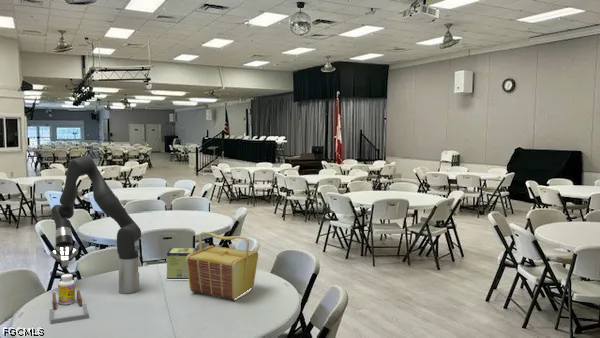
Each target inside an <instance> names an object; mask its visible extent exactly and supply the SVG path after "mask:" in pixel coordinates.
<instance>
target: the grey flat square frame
mask: <svg viewBox="0 0 600 338" xmlns="http://www.w3.org/2000/svg"><path fill="white" fill-rule="evenodd" d="M82 309H83V312H84V314H77V315H70V316H63V317H59V318H58V317H57V318H55V316H54V310H53V308H49V317H50V318H49V319H50V322H49V323H50V325H52V324H58V323H65V322H72V321H78V320H79V321H80V320H84V319H89V318H90V313H89V310H88V307H87V304H83V305H82Z"/></svg>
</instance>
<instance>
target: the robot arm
mask: <svg viewBox="0 0 600 338" xmlns="http://www.w3.org/2000/svg"><path fill="white" fill-rule="evenodd" d="M85 175H86V176H88V178H89V181H91V184H92V191H93V192H92V194H93V198H94V201H95V203H96V205H97V206H98V207H99V208H100V210H101V211H102V212H103V213H104V214H106V215H107V216H108V217H109V218H111V219H113V221H114V222H115V223H117V224H118V226H119V229H118V231H117V232H116V233H117V234H116V251H117V254H118V292H119V293H120V294H124V295H125V294H134V293H136V292H137V293H138V292H140V272H139V251H138V250H137V249H136V247H135V243H136V242H138V241H140V239H141V237H142V230H141V228H140V227H139V225H138V224H137V222H135V221H134V219H133V218H132V217H131V216H130V214H128V212H127V210H126V209H125V208H124V206H123V205H122V203H121V202H120V200H119V199H118V197H117V196H116V195H115V194H114V191H113V190H112V189H111V188H110V187H109V185H108V183H107V182H106V180H105V179H104V177H103V175H102V174H101V172H100V170H99V168H98V166H97V165H96V163H95V161H94V160H93V158H91V157H90V156H88V155H83V156H79V157H75V158H72V159H70V161H69V162H68V165H67V171H66V175H65V180H64V181H65V183H64V188H63V190H62V192H61V195H60V198H59V204H54V205H53V207H52V208H51V211H50V212H51V213H50V214H51V217H52V219H53V222H54V223H55V233H54V234H55V247H54V250H53V251H50V253H49V254H50V255H49V256H50V257H51V258H52V259H53V260H55V261H56V262H57V263H60V264H61V269H63V270H66V269H67V268H69V262H71V261H73V260H74V259H75V257H76V256H77V255H79V254H78V253H79V249H76V248H74V246H73V234H72V232H73V231H72V225H71V224H72V221H70V220H69V219H72V218H73V216H74V214H75V213H74V212H75V211H74V210H75V209H74V207H75V202H76V199H77V196H78V193H79V190H78V185H77V182H78V180H79V178H80V177H82V176H85Z"/></svg>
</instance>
